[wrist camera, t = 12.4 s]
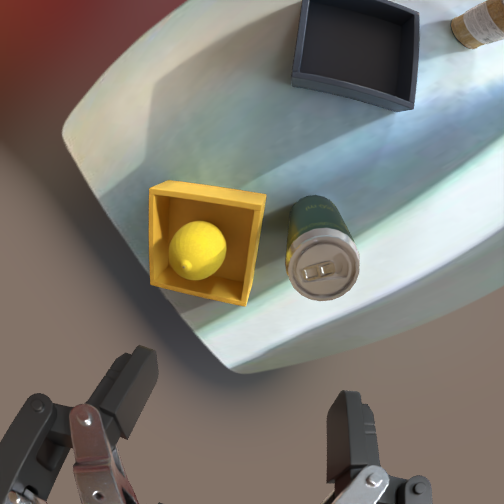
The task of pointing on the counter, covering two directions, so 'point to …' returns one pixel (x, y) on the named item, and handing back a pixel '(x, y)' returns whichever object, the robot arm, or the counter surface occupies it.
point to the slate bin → (359, 51)
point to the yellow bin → (218, 213)
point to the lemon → (197, 250)
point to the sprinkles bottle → (480, 24)
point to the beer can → (320, 250)
